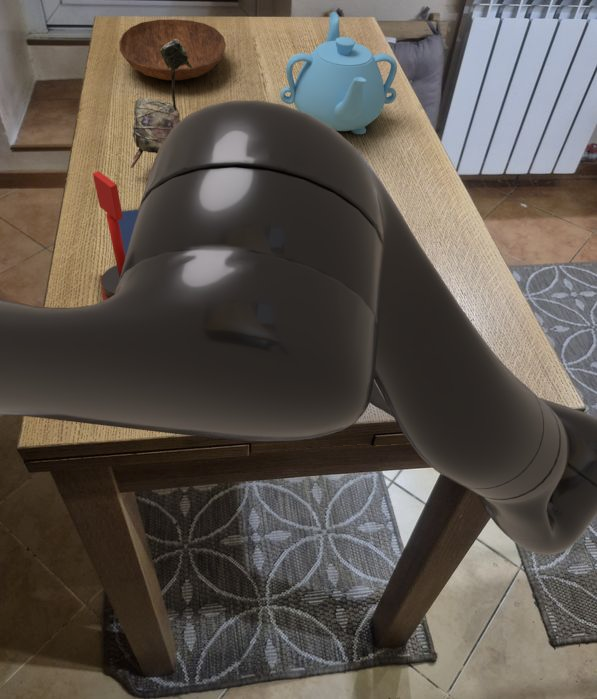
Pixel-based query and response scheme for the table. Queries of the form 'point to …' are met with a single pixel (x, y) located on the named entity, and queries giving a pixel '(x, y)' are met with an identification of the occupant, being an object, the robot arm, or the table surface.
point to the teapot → (340, 82)
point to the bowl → (151, 36)
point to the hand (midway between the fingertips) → (244, 256)
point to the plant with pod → (158, 107)
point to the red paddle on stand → (111, 229)
